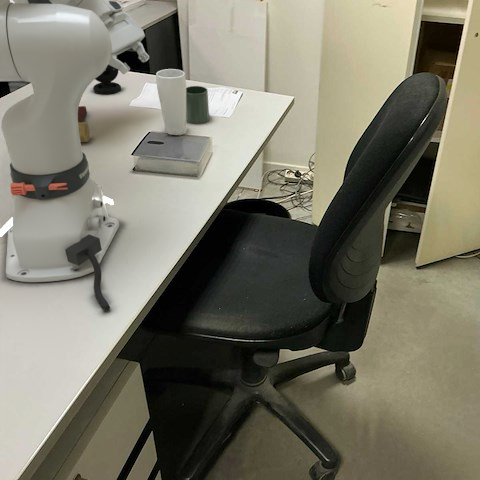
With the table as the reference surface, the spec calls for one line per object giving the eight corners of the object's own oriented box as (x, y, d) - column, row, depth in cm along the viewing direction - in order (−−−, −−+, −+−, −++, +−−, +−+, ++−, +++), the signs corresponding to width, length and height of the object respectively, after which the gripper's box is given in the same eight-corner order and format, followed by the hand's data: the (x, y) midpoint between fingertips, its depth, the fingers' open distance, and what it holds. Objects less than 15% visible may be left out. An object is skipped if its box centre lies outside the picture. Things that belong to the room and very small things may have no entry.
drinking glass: (194, 129, 141) (190, 71, 132) (182, 139, 135) (177, 79, 127) (170, 125, 142) (164, 67, 133) (157, 135, 136) (150, 75, 128)
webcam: (95, 96, 155) (89, 60, 149) (90, 87, 160) (84, 52, 155) (124, 92, 158) (119, 57, 153) (118, 84, 164) (113, 50, 158)
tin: (209, 123, 144) (207, 94, 140) (186, 124, 143) (183, 94, 139) (208, 114, 149) (207, 85, 144) (186, 115, 148) (183, 86, 143)
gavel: (63, 98, 144) (103, 99, 145) (66, 115, 146) (105, 115, 147) (37, 125, 126) (83, 126, 127) (41, 144, 128) (86, 144, 130)
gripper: (73, 18, 117) (121, 70, 121) (122, 0, 133) (164, 46, 137) (58, 37, 120) (106, 87, 124) (108, 17, 137) (149, 62, 141)
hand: (137, 65), depth 131 cm, fingers open, 8 cm apart
